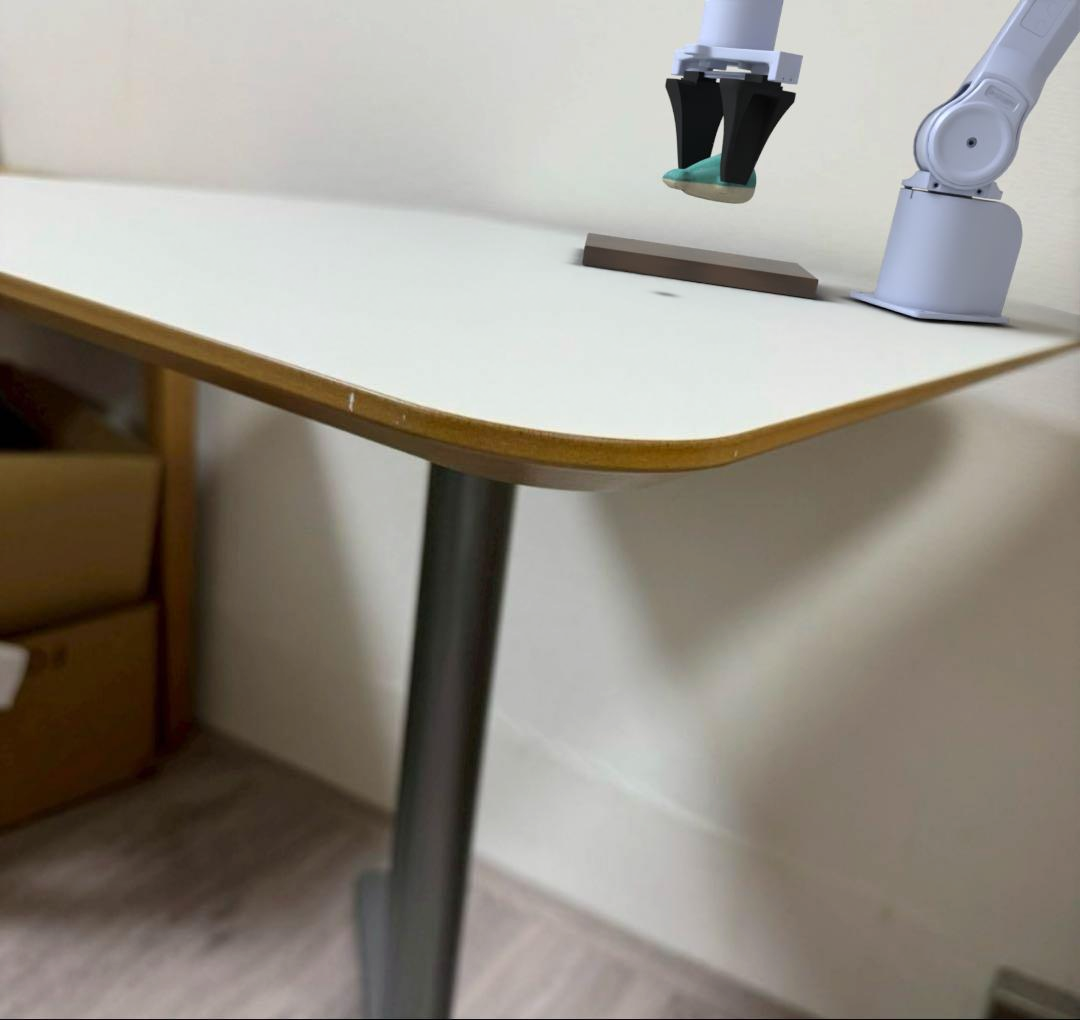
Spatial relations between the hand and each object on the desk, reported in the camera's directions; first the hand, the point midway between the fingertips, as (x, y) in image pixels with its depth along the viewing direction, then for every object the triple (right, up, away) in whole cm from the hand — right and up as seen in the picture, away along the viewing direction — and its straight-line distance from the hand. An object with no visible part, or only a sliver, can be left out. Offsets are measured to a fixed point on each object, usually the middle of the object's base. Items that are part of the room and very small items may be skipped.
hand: (711, 178), depth 83 cm
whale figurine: (0, -2, +1) cm, 2 cm away
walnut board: (-1, -7, +3) cm, 7 cm away
